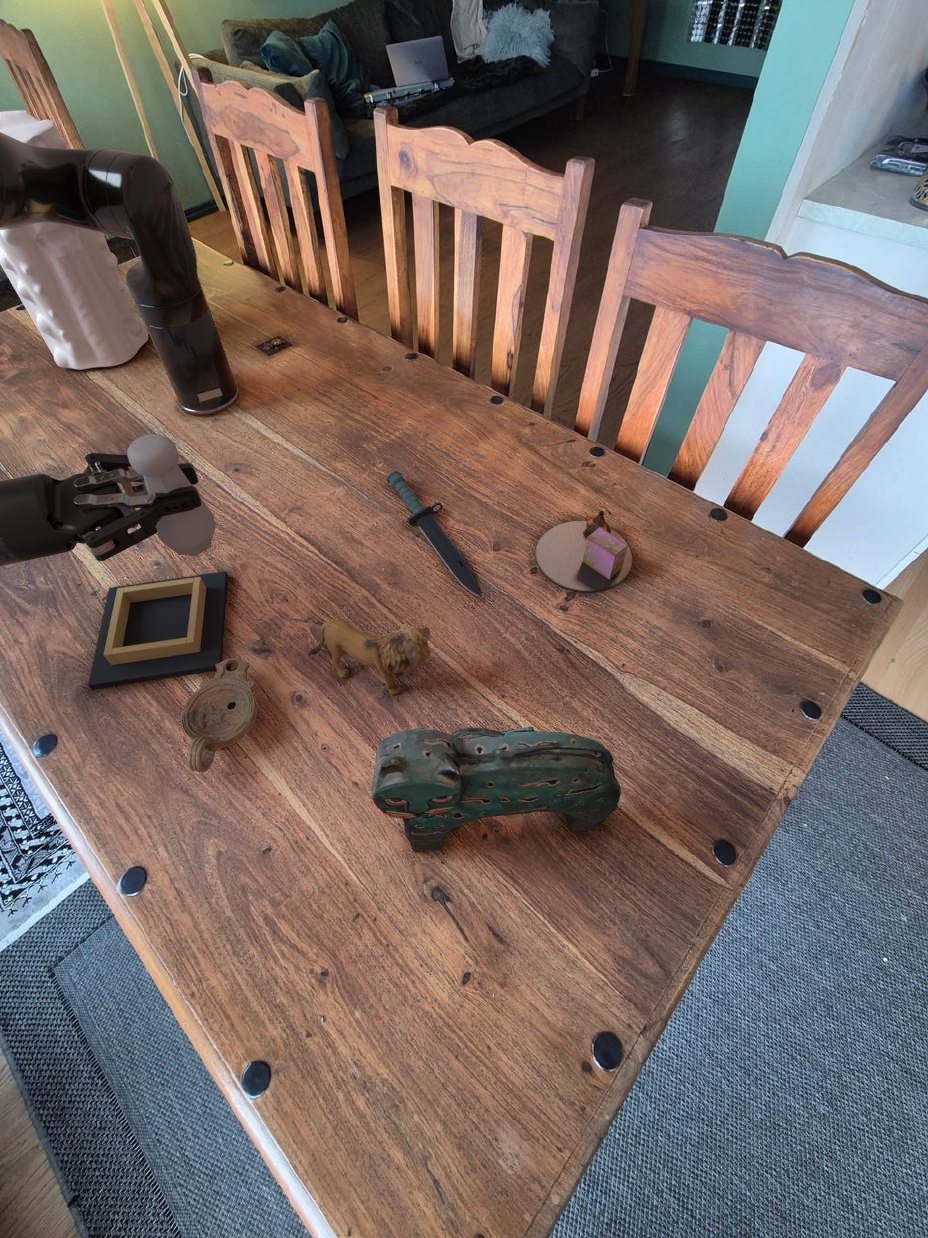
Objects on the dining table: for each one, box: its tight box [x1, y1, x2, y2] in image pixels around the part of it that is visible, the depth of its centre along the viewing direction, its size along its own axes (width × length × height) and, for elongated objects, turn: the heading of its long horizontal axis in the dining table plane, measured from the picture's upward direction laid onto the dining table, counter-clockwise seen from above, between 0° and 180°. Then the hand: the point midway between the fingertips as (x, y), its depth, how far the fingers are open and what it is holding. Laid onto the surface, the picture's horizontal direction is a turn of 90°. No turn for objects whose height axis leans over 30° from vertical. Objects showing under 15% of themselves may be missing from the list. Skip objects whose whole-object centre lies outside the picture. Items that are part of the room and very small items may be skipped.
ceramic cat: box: [371, 726, 622, 853], centre depth 52 cm, size 20×6×20 cm, turn 95°
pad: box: [87, 570, 230, 691], centre depth 73 cm, size 14×14×3 cm
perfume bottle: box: [534, 510, 633, 594], centre depth 78 cm, size 12×12×4 cm
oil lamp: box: [180, 657, 258, 773], centre depth 65 cm, size 13×8×5 cm, turn 174°
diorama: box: [254, 335, 294, 357], centre depth 110 cm, size 3×4×2 cm
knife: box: [386, 471, 482, 597], centre depth 82 cm, size 23×2×5 cm
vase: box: [0, 109, 149, 371], centre depth 100 cm, size 17×16×32 cm
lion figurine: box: [308, 618, 432, 696], centre depth 67 cm, size 15×5×9 cm, turn 75°
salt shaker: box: [126, 433, 216, 557], centre depth 64 cm, size 6×6×13 cm
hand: (196, 484), depth 63 cm, fingers closed on salt shaker, 3 cm apart
